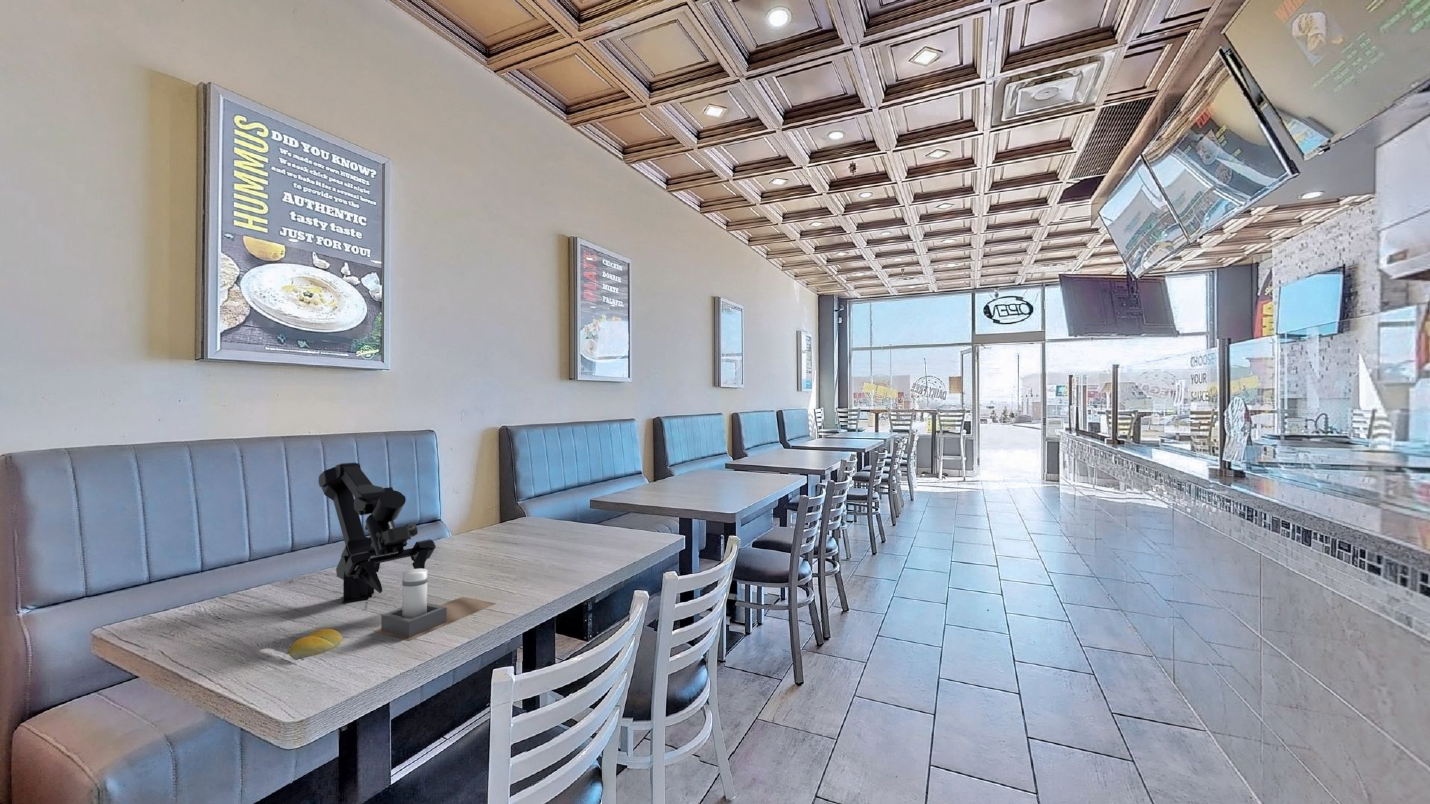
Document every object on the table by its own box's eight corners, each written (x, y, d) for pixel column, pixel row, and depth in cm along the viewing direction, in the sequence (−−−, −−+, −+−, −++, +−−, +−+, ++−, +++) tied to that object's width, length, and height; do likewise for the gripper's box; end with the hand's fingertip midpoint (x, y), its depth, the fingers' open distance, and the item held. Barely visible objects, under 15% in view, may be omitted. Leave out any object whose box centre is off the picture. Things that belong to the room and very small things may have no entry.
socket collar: (409, 638, 117) (409, 622, 117) (381, 630, 121) (381, 614, 121) (446, 622, 125) (446, 607, 125) (419, 615, 129) (419, 601, 129)
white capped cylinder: (397, 631, 120) (398, 575, 120) (406, 622, 125) (407, 568, 125) (422, 629, 121) (423, 574, 121) (430, 620, 126) (430, 568, 126)
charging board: (408, 644, 115) (408, 640, 115) (373, 634, 120) (373, 631, 120) (496, 606, 137) (496, 603, 137) (462, 599, 142) (462, 596, 142)
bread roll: (278, 660, 108) (279, 641, 108) (318, 641, 117) (318, 623, 117) (313, 664, 107) (313, 644, 107) (351, 644, 116) (351, 625, 116)
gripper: (349, 520, 123) (368, 577, 116) (432, 507, 138) (453, 558, 131) (336, 548, 127) (354, 605, 121) (418, 533, 142) (437, 583, 136)
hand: (402, 586), depth 127 cm, fingers open, 9 cm apart
